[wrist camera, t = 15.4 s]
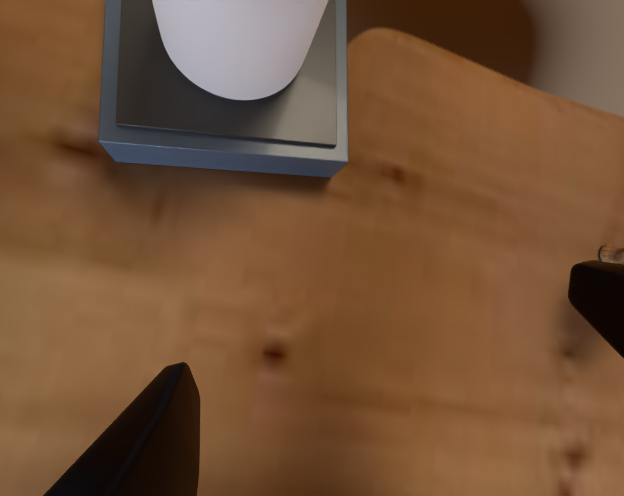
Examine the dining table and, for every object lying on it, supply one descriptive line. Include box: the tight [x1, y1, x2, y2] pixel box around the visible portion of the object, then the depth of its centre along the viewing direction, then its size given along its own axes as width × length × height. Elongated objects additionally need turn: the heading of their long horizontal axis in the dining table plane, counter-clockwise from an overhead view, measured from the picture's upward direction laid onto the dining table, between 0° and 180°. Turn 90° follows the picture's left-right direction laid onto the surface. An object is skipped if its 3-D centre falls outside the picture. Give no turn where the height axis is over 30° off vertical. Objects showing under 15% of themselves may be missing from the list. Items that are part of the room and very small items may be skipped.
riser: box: [98, 0, 348, 178], centre depth 18 cm, size 11×11×3 cm
